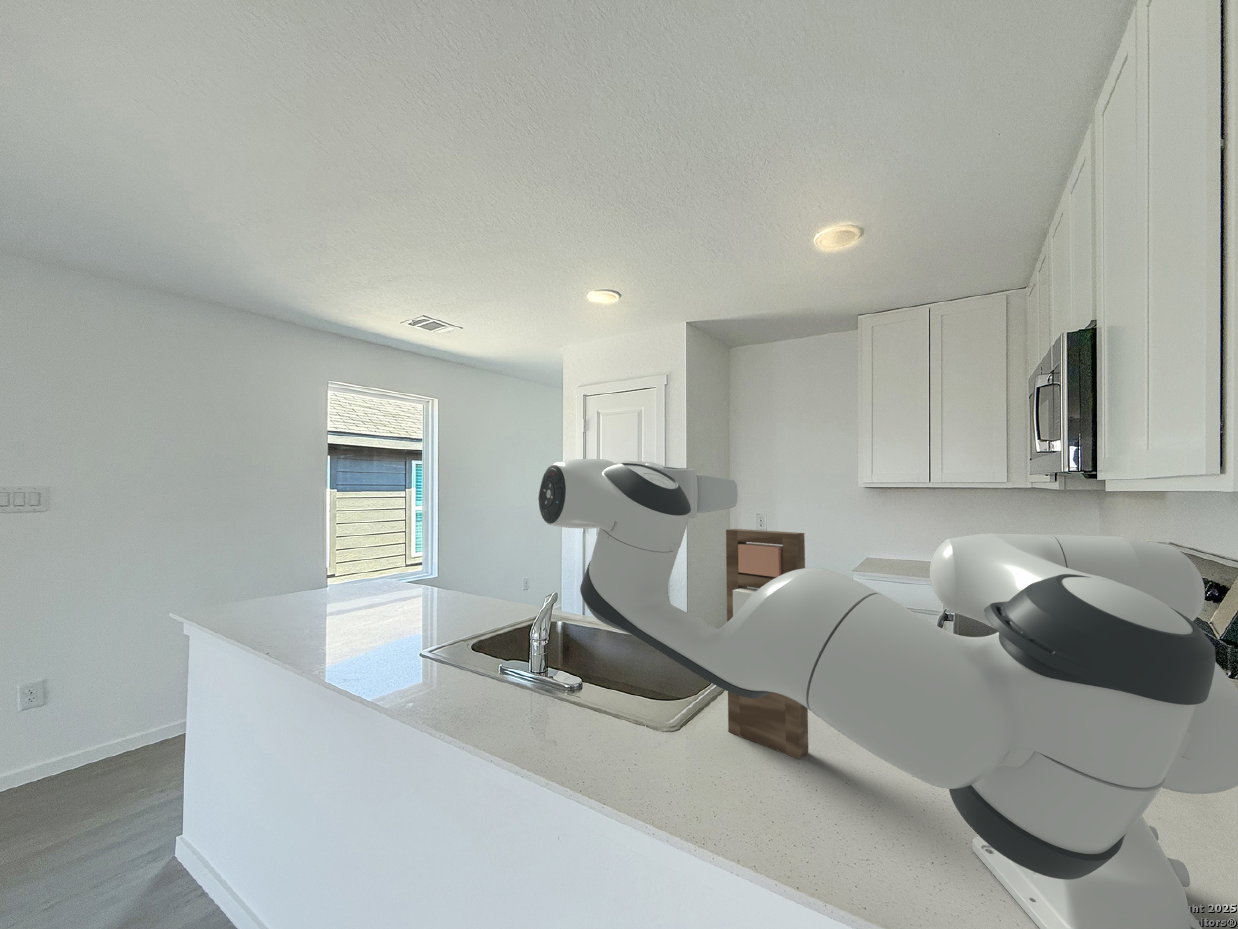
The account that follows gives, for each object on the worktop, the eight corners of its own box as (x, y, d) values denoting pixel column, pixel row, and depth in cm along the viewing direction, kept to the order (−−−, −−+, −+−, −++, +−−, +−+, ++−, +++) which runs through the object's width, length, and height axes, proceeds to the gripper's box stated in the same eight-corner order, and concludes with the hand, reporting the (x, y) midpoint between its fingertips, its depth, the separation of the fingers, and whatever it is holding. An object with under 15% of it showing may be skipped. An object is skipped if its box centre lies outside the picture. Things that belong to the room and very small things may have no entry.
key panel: (799, 759, 88) (795, 534, 89) (728, 731, 98) (726, 529, 99) (808, 753, 90) (804, 533, 91) (737, 726, 100) (735, 528, 101)
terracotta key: (778, 577, 91) (778, 547, 91) (738, 572, 96) (738, 544, 97) (790, 574, 93) (789, 546, 94) (750, 569, 99) (750, 542, 99)
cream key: (773, 626, 89) (773, 596, 89) (733, 618, 95) (732, 590, 95) (785, 622, 92) (785, 593, 92) (745, 614, 97) (745, 587, 98)
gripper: (591, 513, 81) (652, 511, 90) (699, 519, 66) (759, 515, 76) (591, 472, 81) (652, 474, 91) (699, 468, 66) (758, 471, 76)
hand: (701, 492), depth 83 cm, fingers closed
